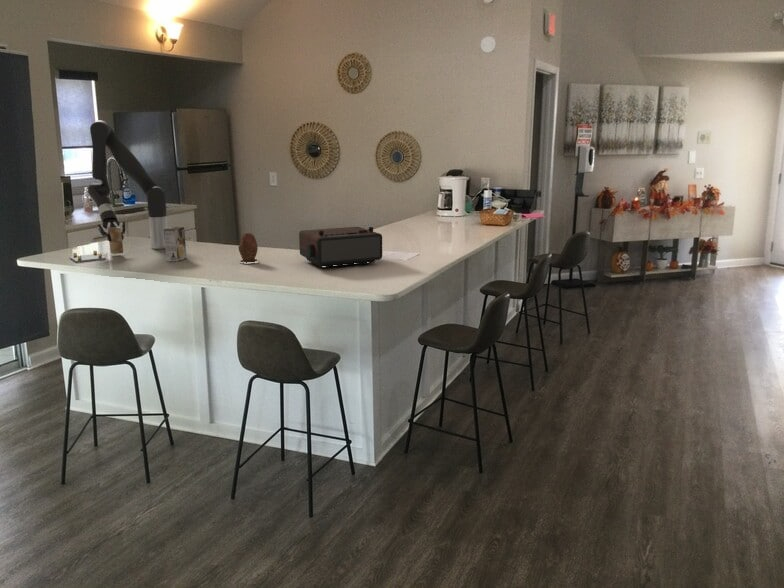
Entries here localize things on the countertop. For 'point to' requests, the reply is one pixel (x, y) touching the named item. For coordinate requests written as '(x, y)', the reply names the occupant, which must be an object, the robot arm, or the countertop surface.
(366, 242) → the radio receiver
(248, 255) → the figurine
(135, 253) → the countertop surface
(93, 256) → the dock
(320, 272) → the countertop surface
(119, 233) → the walnut block
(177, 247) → the coffee box
